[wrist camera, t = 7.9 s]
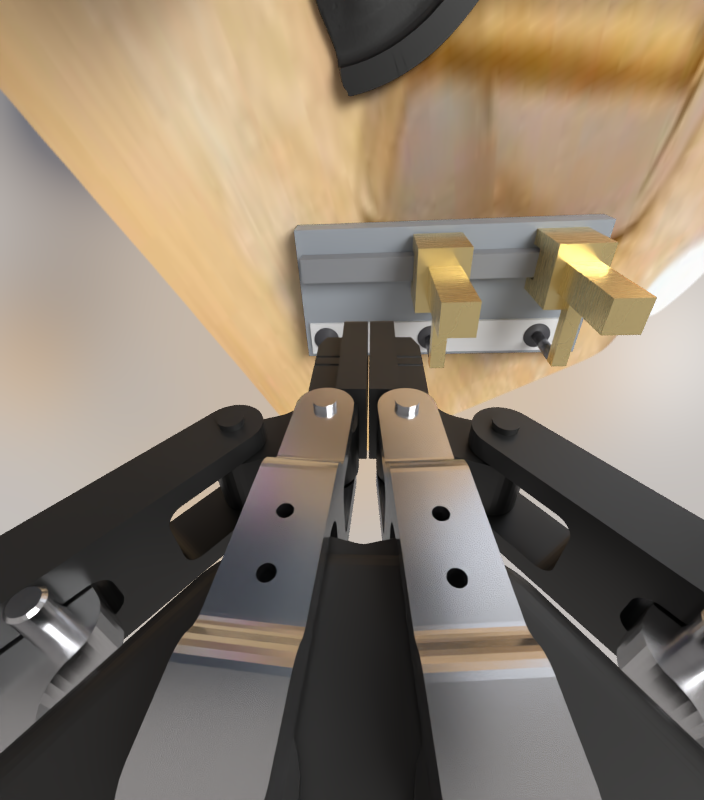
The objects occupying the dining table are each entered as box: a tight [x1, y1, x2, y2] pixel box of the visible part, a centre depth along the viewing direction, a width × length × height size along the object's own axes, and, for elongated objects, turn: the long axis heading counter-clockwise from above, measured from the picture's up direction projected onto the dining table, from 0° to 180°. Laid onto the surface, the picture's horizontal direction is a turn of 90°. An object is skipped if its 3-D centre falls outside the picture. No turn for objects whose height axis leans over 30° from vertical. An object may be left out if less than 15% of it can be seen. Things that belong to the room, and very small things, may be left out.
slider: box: [411, 232, 482, 368], centre depth 30 cm, size 10×4×11 cm, turn 2°
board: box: [294, 214, 616, 356], centre depth 36 cm, size 12×26×4 cm, turn 92°
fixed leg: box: [524, 227, 657, 366], centre depth 30 cm, size 10×4×12 cm, turn 2°
